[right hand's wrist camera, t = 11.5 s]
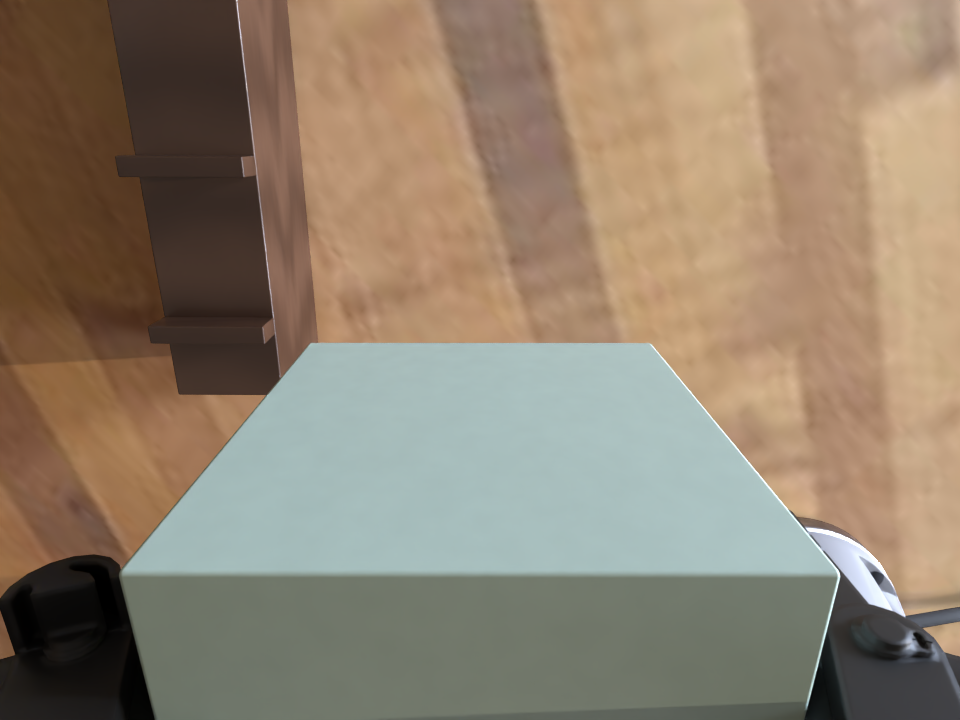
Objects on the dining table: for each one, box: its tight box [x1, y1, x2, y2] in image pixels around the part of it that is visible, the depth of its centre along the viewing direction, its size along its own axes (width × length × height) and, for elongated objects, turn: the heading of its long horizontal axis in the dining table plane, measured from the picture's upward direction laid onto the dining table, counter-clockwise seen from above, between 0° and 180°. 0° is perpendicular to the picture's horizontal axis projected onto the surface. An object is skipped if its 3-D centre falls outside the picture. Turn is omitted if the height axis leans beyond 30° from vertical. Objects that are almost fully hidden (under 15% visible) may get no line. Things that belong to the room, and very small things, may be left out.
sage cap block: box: [119, 343, 840, 720], centre depth 10 cm, size 6×7×7 cm
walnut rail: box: [107, 0, 318, 395], centre depth 27 cm, size 28×5×8 cm, turn 0°
